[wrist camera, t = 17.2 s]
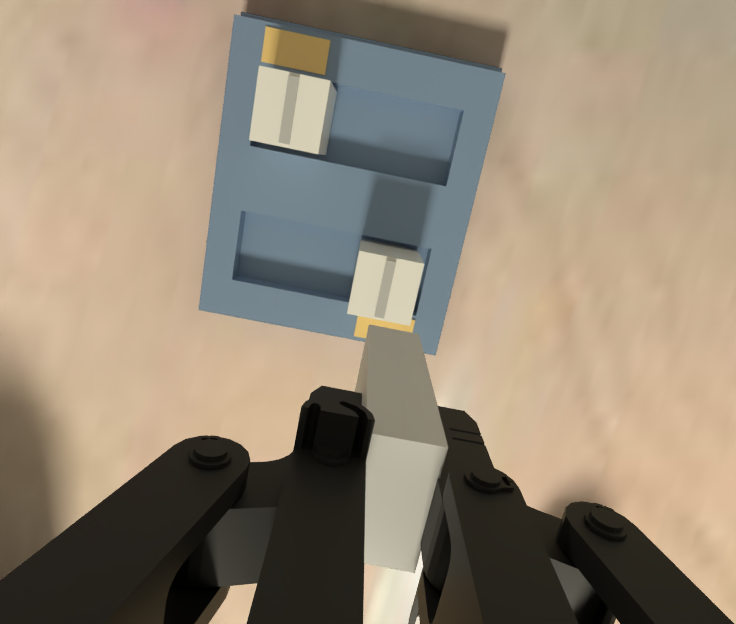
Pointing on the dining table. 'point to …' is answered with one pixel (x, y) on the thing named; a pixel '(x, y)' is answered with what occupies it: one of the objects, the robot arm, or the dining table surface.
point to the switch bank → (344, 179)
